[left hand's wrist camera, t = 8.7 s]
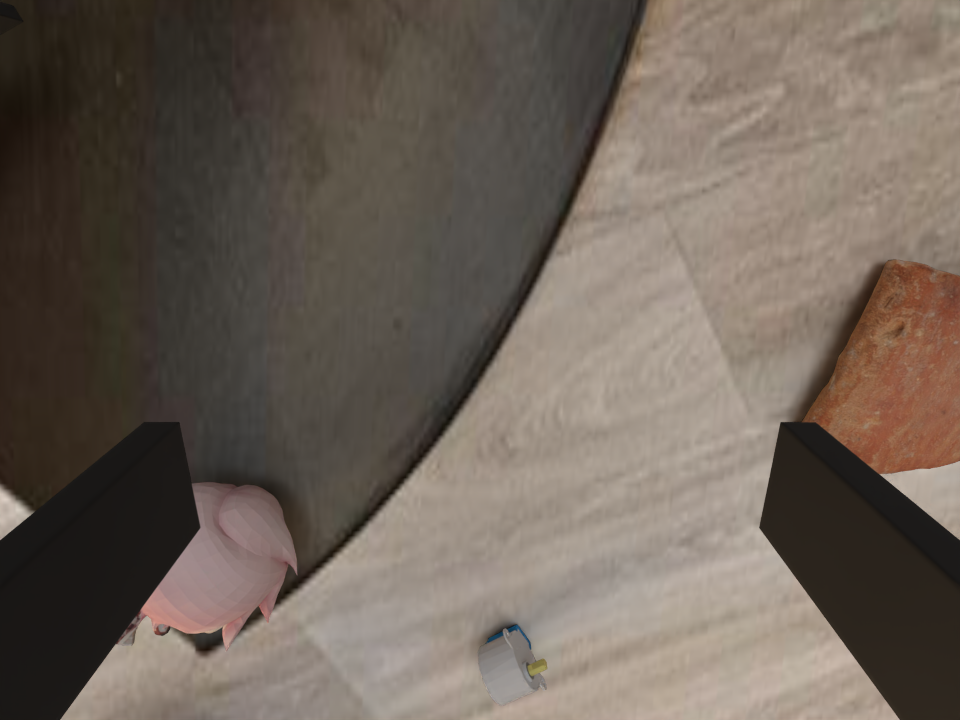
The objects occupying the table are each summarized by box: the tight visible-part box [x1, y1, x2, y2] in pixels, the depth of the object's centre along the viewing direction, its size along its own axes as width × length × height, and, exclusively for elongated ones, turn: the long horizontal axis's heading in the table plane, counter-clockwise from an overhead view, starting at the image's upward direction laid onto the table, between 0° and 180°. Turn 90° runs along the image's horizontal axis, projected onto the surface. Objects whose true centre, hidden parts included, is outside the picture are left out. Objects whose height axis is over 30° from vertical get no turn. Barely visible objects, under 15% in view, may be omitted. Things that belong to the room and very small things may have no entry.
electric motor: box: [478, 625, 547, 706], centre depth 46 cm, size 7×5×5 cm
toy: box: [116, 482, 297, 652], centre depth 40 cm, size 12×11×15 cm
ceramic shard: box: [802, 259, 960, 474], centre depth 39 cm, size 15×6×15 cm
